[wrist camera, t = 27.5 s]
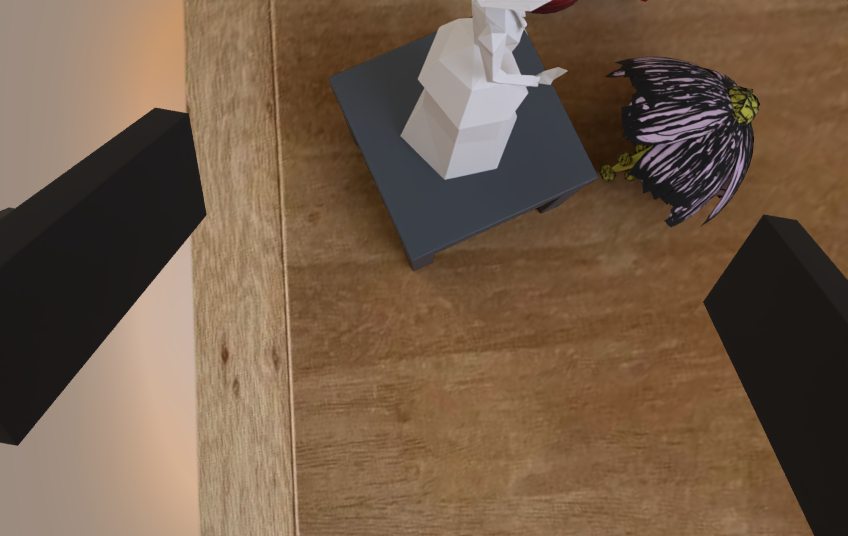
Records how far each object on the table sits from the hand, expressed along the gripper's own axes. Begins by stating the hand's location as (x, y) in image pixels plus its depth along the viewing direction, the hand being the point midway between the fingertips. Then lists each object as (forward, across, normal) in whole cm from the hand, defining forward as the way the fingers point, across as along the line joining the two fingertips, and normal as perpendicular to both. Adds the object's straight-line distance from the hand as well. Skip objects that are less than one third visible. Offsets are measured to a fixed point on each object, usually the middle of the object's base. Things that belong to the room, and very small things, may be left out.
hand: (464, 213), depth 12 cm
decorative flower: (+32, +17, -11) cm, 38 cm away
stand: (+29, 0, -14) cm, 32 cm away
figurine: (+23, 0, -8) cm, 24 cm away
